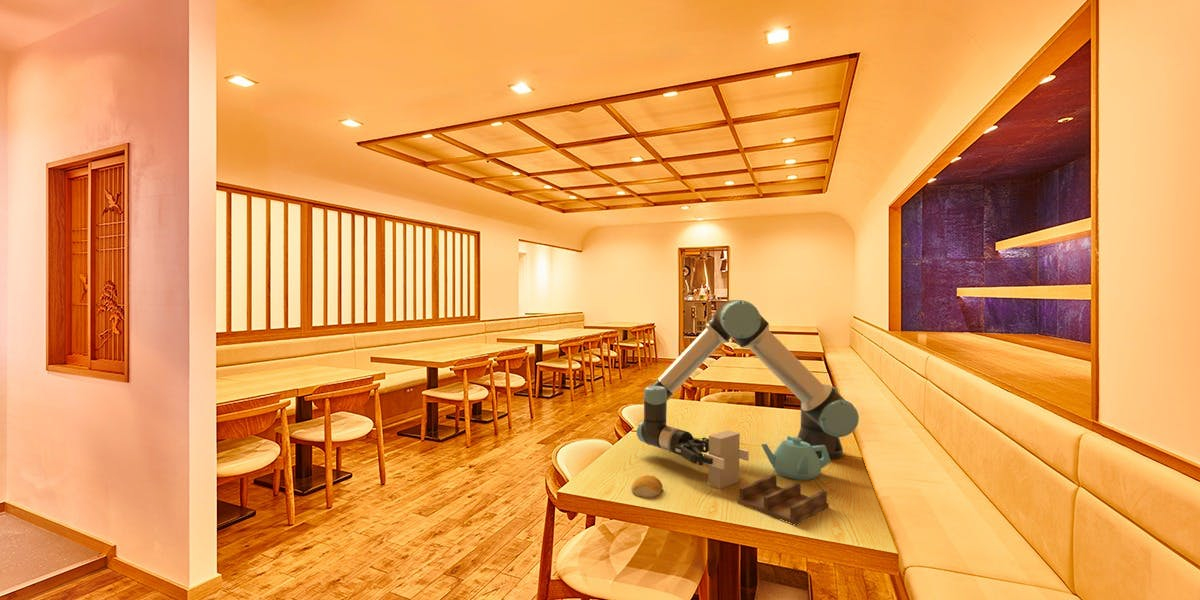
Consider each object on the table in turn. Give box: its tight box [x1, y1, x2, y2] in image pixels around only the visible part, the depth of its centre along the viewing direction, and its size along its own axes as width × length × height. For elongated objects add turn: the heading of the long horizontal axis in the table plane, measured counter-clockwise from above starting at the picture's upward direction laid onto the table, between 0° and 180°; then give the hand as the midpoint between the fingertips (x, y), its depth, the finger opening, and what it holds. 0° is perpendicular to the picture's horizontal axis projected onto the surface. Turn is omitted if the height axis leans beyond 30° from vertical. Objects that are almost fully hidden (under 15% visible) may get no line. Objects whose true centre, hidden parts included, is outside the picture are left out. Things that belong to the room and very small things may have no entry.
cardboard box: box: [707, 430, 740, 490], centre depth 138 cm, size 9×4×14 cm, turn 129°
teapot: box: [761, 435, 832, 481], centre depth 146 cm, size 15×15×11 cm
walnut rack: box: [737, 473, 829, 526], centre depth 124 cm, size 16×16×4 cm
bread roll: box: [630, 474, 664, 498], centre depth 132 cm, size 8×9×4 cm
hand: (736, 460), depth 135 cm, fingers open, 11 cm apart
